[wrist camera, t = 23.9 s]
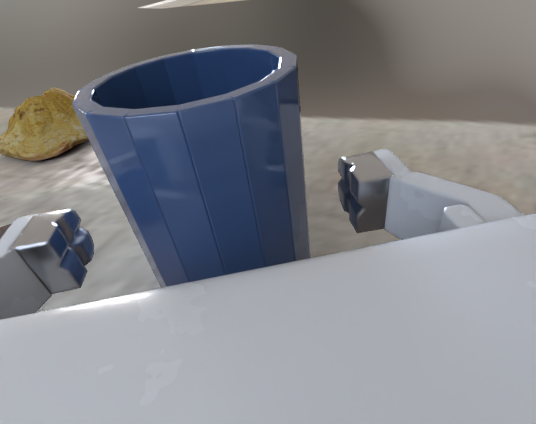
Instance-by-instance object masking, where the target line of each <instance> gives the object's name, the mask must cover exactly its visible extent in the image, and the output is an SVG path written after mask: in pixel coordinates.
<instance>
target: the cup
mask: <svg viewBox="0 0 536 424" xmlns="http://www.w3.org/2000/svg"><path fill="white" fill-rule="evenodd" d="M72 107H73V109H74V111H75V113H76V115H77V117H78V119H79V121H80V123H81V125H82V127H83V129H84V131H85V133H86V135H87V137H88V139H89V141H90V143H91V145H92V148H93V150H94V152H95V154H96V156H97V158H98V160H99V162H100V164H101V166H102V168H103V170H104V172H105V174H106V176H107V178H108V180H109V182H110V184H111V186H112V189H113V191H114V193H115V195H116V197H117V199H118V201H119V203H120V205H121V207H122V209H123V211H124V213H125V215H126V217H127V219H128V221H129V223H130V225H131V227H132V230H133V232H134V234H135V236H136V238H137V240H138V242H139V244H140V246H141V248H142V250H143V252H144V254H145V256H146V258H147V260H148V262H149V264H150V266H151V268H152V271H153V273H154V275H155V277H156V279H157V281H158V283H159V285H160V287H161V288H162V287H167V286H172V285H177V284H182V283H188V282H193V281H198V280H203V279H208V278H213V277H218V276H223V275H228V274H233V273H238V272H243V271H248V270H253V269H258V268H263V267H268V266H273V265H278V264H283V263H288V262H293V261H298V260H303V259H308V258H311V257H310V242H309V228H308V213H307V199H306V184H305V169H304V155H303V140H302V126H301V111H300V97H299V82H298V68H297V56H296V55H295V54H293V53H291V52H289V51H287V50H285V49H283V48H280V47H274V46H265V45H227V46H218V47H210V48H201V49H195V50H188V51H184V52H179V53H174V54H169V55H164V56H160V57H156V58H152V59H149V60H145V61H142V62H139V63H135V64H132V65H128V66H126V67H123V68H120V69H118V70H116V71H113V72H111V73H108V74H106V75H104V76H101V77H99V78H97V79H96V80H94V81H92V82H91V83H89V84H88V85H86V86H85V87H83V88H82V89H80V90H79V91H78V92H77V94H76V96H75V98H74V100H73V102H72Z"/></svg>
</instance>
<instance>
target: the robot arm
mask: <svg viewBox="0 0 536 424" xmlns="http://www.w3.org/2000/svg"><path fill="white" fill-rule="evenodd" d="M338 172H339V173H340V175H341V177H342V178H341V180H340V181H339V183H338V193H339V199H340V202H341V205H342V207H343V209H344V211H346V212H348V213H349V220H350V222H351V224H352V225H353V227H354V229H355V231H356V232H357V233H361V232H367V231H373V230H379V229H384V230H386V231H387V232H389V233H391V234H392V235H394V236H396V237H397V238H399V239H401V240H398V241H393V242H388V243H383V244H378V245H373V246H368V247H363V248H358V249H353V250H348V251H343V252H338V253H333V254H328V255H323V256H318V257H313V258H308V259H303V260H298V261H293V262H288V263H283V264H278V265H273V266H268V267H263V268H258V269H253V270H248V271H243V272H238V273H233V274H228V275H223V276H218V277H213V278H208V279H203V280H198V281H193V282H188V283H182V284H177V285H172V286H167V287H162V288H157V289H152V290H147V291H142V292H137V293H132V294H127V295H122V296H117V297H112V298H107V299H102V300H97V301H92V302H87V303H82V304H77V305H72V306H67V307H62V308H57V309H52V310H47V311H42V312H37V310H38V309H39V308H40V307H41V306H42V305H43V304H44V303H45V302H46V301H47V300H48V299H49V298H50V297H51V296H52V295H51V294H55V293H59V292H64V291H68V290H73V289H77V288H81V286H82V283H83V281H84V278H85V276H86V273H87V270H86V268H85V267H84V266H85V265H87V264H88V263H89V262H90V261H91V260H92V257H93V254H94V243H93V240H92V237H91V235H90V234H89V232H88V231H87V230H85V229H83V228H82V227H80V222H81V219H80V217H79V216H78V214H77V213H76V211H74V210H72V209H65V210H60V211H54V212H48V213H42V214H37V215H35V214H34V215H30V216H25V217H20V218H17V219H15V220H14V222H13V223H12V224H11V226H10V227H9V228H8V230H7V231H6V232H5V234H4V235H3V236H2V237H1V239H0V424H536V213H534V214H529V215H524V214H522V213H521V212H520V211H519V210H517V209H516V208H515V207H514V206H512V205H511V204H510V203H509V202H507V201H506V200H505V199H504V198H502V197H501V196H499V195H496V194H493V193H489V192H486V191H482V190H479V189H475V188H472V187H469V186H465V185H462V184H458V183H455V182H452V181H448V180H445V179H441V178H438V177H434V176H431V175H428V174H424V173H421V172H412V171H411V170H410V169H409V168H408V167H407V166H406V165H405V164H404V163H403V162H402V161H401V160H400V159H399V158H398V157H397V156H396V155H395V154H394V153H393V152H392V151H391V150H390V149H387V148H385V149H381V150H376V151H372V152H367V153H362V154H358V155H353V156H348V157H343V158H340V159H339V162H338ZM36 312H37V313H36Z"/></svg>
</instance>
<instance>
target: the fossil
mask: <svg viewBox="0 0 536 424" xmlns="http://www.w3.org/2000/svg"><path fill="white" fill-rule="evenodd" d="M74 98H75V96H73V95H71V94H69V93H67V92H66V91H64V90H62V89H56V88H54V87H52V88H51V89H50V90H48V91H45V92H44V95H41V96H35V97H33V98H27V99H26V100H25V102H24V103H23V104H21V105H20V106H19V107H16V109H15V112H14V114H13V116H11V118H10V120H9V124H8V129H7V131H6V132H5V133H3V134H2V135H1V137H0V154H2V155H5V156H8V157H14V158H18V159H22V160H29V161H39V160H44V159H48V158H52V157H55V156H57V155H60V154H62V153H63V152H65V151H67V150H69V149H71V148H72V147H73V146H75V145H77V144H80V143H83V142H86V141H87V140H88V137H87V135H86V133H85V131H84V129H83V127H82V125H81V123H80V121H79V119H78V117H77V115H76V113H75V111H74V109H73V107H72V102H73V100H74Z"/></svg>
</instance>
